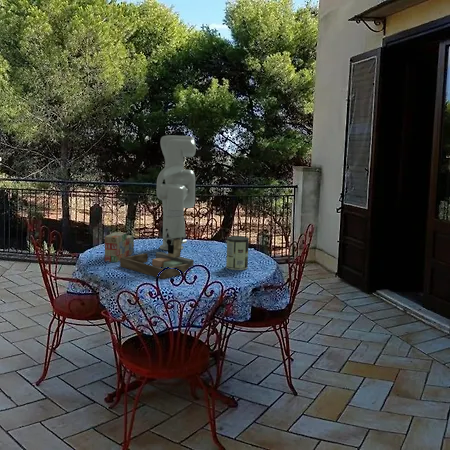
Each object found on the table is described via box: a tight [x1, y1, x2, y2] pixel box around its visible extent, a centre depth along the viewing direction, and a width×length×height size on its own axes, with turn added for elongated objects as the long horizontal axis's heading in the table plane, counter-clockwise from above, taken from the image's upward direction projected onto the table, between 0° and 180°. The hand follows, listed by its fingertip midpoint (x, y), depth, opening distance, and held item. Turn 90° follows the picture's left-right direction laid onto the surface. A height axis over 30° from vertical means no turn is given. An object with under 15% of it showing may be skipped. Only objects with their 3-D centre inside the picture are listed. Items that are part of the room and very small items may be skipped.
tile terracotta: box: [151, 257, 171, 268], centre depth 232 cm, size 6×6×3 cm
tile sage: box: [163, 260, 182, 269], centre depth 227 cm, size 6×6×3 cm
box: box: [119, 252, 190, 280], centre depth 223 cm, size 15×28×4 cm, turn 50°
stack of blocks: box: [104, 231, 135, 263], centre depth 244 cm, size 21×6×12 cm, turn 169°
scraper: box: [155, 238, 195, 268], centre depth 232 cm, size 4×22×11 cm, turn 50°
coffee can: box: [225, 235, 250, 271], centre depth 232 cm, size 10×10×14 cm
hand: (174, 252), depth 232 cm, fingers closed on scraper, 4 cm apart
